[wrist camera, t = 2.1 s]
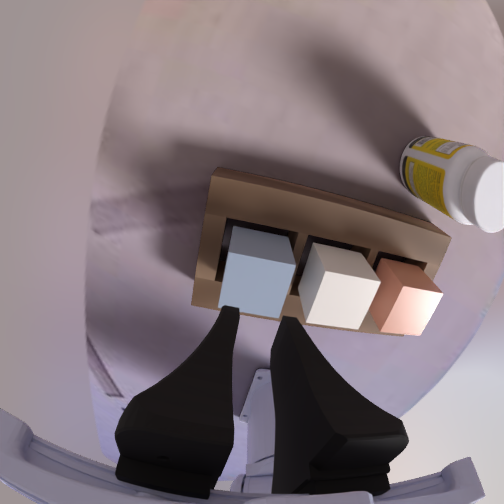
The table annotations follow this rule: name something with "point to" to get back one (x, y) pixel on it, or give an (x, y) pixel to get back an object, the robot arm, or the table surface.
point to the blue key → (257, 272)
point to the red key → (403, 298)
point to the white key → (336, 287)
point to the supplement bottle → (456, 180)
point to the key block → (307, 233)
